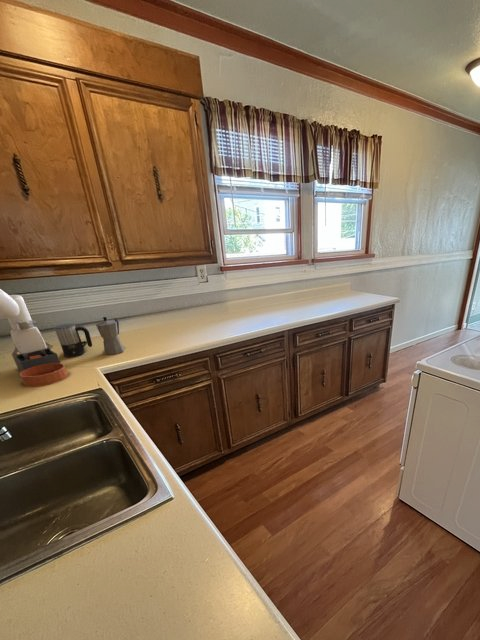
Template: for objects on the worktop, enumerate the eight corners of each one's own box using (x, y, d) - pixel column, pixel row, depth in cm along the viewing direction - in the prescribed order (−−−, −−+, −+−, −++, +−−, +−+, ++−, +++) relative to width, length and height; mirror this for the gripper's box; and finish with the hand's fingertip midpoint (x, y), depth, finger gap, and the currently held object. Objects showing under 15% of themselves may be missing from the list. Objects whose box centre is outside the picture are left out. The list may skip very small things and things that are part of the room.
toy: (36, 371, 144) (31, 358, 141) (33, 369, 146) (28, 357, 143) (47, 369, 146) (42, 356, 144) (44, 367, 149) (39, 354, 146)
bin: (27, 378, 138) (20, 362, 135) (19, 371, 146) (12, 355, 142) (62, 369, 147) (56, 353, 144) (53, 363, 155) (47, 347, 151)
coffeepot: (115, 356, 161) (105, 320, 153) (98, 356, 162) (86, 320, 154) (132, 346, 175) (123, 313, 167) (116, 346, 176) (106, 313, 168)
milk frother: (68, 358, 160) (57, 329, 153) (55, 352, 168) (44, 324, 162) (98, 351, 170) (89, 322, 163) (85, 345, 178) (76, 318, 172)
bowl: (30, 391, 126) (25, 380, 124) (20, 382, 135) (15, 371, 133) (74, 379, 137) (70, 368, 134) (61, 371, 145) (57, 360, 143)
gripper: (43, 320, 145) (58, 358, 153) (-6, 328, 133) (13, 369, 142) (48, 322, 141) (63, 362, 149) (-2, 331, 129) (18, 373, 137)
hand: (39, 365), depth 145 cm, fingers open, 5 cm apart
